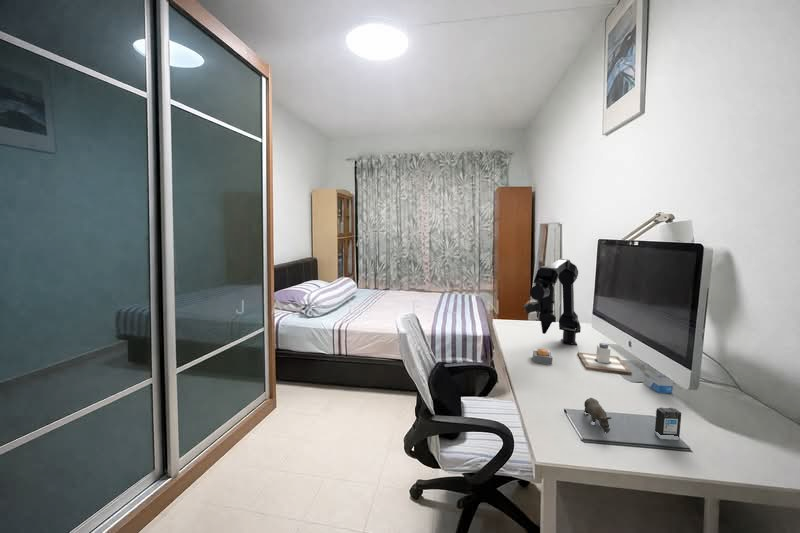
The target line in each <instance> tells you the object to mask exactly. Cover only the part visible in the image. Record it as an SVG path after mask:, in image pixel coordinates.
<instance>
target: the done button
mask: <svg viewBox="0 0 800 533" xmlns="http://www.w3.org/2000/svg"><path fill="white" fill-rule="evenodd" d="M537 351H538V354H537V355H541V356H548V352H549V351H548V350H547V349H544V348H538V349H537Z"/></svg>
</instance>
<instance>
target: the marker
mask: <svg viewBox="0 0 800 533" xmlns="http://www.w3.org/2000/svg"><path fill="white" fill-rule="evenodd" d="M595 354H596V359H597V361H598V362H601V363H609V361H610V356H611V348H610V347H609V344H608V343H604V342H603V343H601V342H600V343H599V345H596V353H595Z"/></svg>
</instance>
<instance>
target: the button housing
mask: <svg viewBox="0 0 800 533" xmlns="http://www.w3.org/2000/svg"><path fill="white" fill-rule="evenodd" d="M537 354H538V350H532V359H533V363H535V364H543V365H550V366H551V365H553V355H552V352H551V351H548V356H541V355H537Z"/></svg>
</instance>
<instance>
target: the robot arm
mask: <svg viewBox="0 0 800 533" xmlns="http://www.w3.org/2000/svg"><path fill="white" fill-rule="evenodd" d="M578 277H579V270H578V267H577V265H576V264H574V263H573V262H571V260H570V259H569V258H557V259H556V261H554V262H553V263H551V264H550V265H543V266H540V267H539V268H538V269H537V272H536V274H535V277H534V280H533V283H534V286H532V287H531V289H530V290H529V295H530V297H531V298H532V299H533V300H535V301H532V302H529V303H525V304H524V305H523V308H524V310H525V313H526V314H530V313H533V312H536V313H538V314H536V317H537V320H538V321H539V322H540V325H541V332H542V334H544V335H546V333H547V332H548V330H549V328H550V327H551V325H552V323H557V322H556V321H557V318H556V317H557V316H556V315H555V314H554V304H555V300H554V298H555V286H556V283H557V281H559V282H560V284H561V285H562V314H561V315H560V316H559V319H558V328H559V330H560V331H562V338H561V339H560V341H561V343H562V344H565V345H574V346H577V345H578V343H577V341H576V339H577V337H576V336H577V334H578V333H579V334H580V333H581V324H580V321H579V316H578V314H577V313H576V311H575V307H574V306H575V302H574V300H575V299H574V292H575V291H574V283H575V282H576V280H577V279H578Z"/></svg>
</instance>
